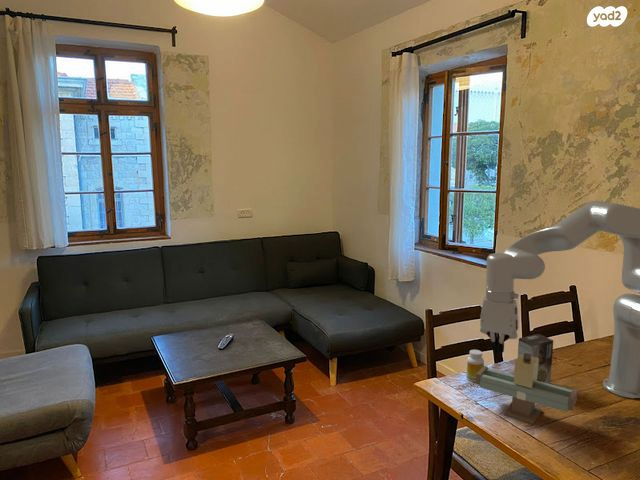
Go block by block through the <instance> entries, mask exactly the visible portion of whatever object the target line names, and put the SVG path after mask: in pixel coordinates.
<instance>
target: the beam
mask: <svg viewBox="0 0 640 480" xmlns="http://www.w3.org/2000/svg"><path fill="white" fill-rule="evenodd" d="M475 384H476V385H479V388H481V389H484V390H487V391H488V390H489V391H491V392H494V393H498V394H502V395H506V396H508V397H512V398H511V399H512V401H511V402H510V403H509V404H508V405H509V406H508V407H507V408H506V410H505V411H504V416H506V417H509V418H512V419H515V420H519V421H521V422H525V423H528V424H531V425H535V422H536V420H537V419H538V417H539V415H540V413H541V412H542V407H541V406H544V407H547V408H551V409H555V410H558V411H560V412H561V411H562V412H566V413H568V411H571V412H572V411H574V408H575V405H576V403H577V401H578V392H579V389H577V388H572V389H570V388H566V387H562V386H558V385H554V384H551V383H550V384H547V383H543V382H540V381H536V383H535V384H534V386H533V388H528V387H525V386H521V385H517V384H514V374H512V373H508V372H504V371H500V370H496V369H492V368H489V367H488V366H486V365H484V366H483V367H482V368H481V369H480V371H479V372H478V373H477V374H476V382H475ZM536 404H537V405H540V406H537V405H536Z"/></svg>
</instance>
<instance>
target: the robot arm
mask: <svg viewBox="0 0 640 480" xmlns="http://www.w3.org/2000/svg"><path fill="white" fill-rule="evenodd" d="M599 232H604V233H609V234H613V235H617V236H619V238H620V240H621V242H622V245H623V246H622V247H623V255H622V257H623V258H622V266H621V267H622V269H621V283H622V286H623V287H624V288H626V289H628V290H629V291H631V292H635V293H637V294H635V293H624V294H621V295H619V296H617V298H616V300H615V301H614V303H613V307H612V314H613V323H614V330H613V331H614V333H613V343H612V351H611V361H610V368H609V377H607V378H604V379H603V381H602V382H603V383H602V385H603V387H604V389H605V390H607V391H609V392H610V393H612V394H614V395H617V396H620V397H622V398H626V399H627V398H628V399H634V398H640V207H635V206H631V205H630V206H629V205H625V204H620V203H615V202H607V201H602V200H600V201H599V200H592V201H590V202H587V203H585V204H584V205H582V206H581V207H579V208H577V209H576V210H575V211H574V212H572V213H571V214H569V215H568V216H566V217H564V218H563V219H562V220H560V221H559V222H557V223H556V224H554V225H553V226H549V227H546V228H543V229H540V230H537V231H534V232H531V233H529V234H527V235H524V236H523V237H521V238H519V239H518V240H516V241H515V242H513V243H512V244H510V245H509V246H508V247H506V248H505V250H504V251H503V252H495V253H491V254H489V255H488V256H487V257H486V277H485V278H486V283H485V290H486V291H485V296H484V298H483V301H482V306H481V310H480V311H481V312H480V320H479V321H480V322H479V324H480V325H479V326H480V329H479V332H480V333H481V334H485V335H486V336H487V337H488V338H489V339H490V341H491V346H492V347H491V350H492V351H493V356H498V357H499V356H501V355H502V354H503V353H504V351H505V342H506V341H508V340H516V339H517V338H518V330H519V311H518V304H517V300H516V299H519V297H520V296H519V294H518V293H516V292H515V290H514V289H515V288H514V286H515V283H514V282H515V279H516V280H534V279H538V278H539V277H540V276H542V275H543V273H544V272H545V270H546V265H545V262H544V259H542V258H541V257H540V256H539V255H541V254H545V253H550V252H564V251H570V250H573V249H575V248H576V247H578V246H579V245H581V244H582V243H584V242H585V241H586V240H588V239H589V238H590V237H592V236H594V235H595V234H597V233H599ZM638 294H639V295H638ZM498 334H499V336H498ZM498 337H499V338H498Z"/></svg>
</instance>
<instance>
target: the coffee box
mask: <svg viewBox="0 0 640 480" xmlns="http://www.w3.org/2000/svg"><path fill="white" fill-rule="evenodd" d="M517 346H518V347H517V358H518V357H519V356H520V354H524V353H530V354H531V356H532V357H536V358H539V362H538V375H537V381H540V382H543V383H547V384H551V378H552V377H551V376H552V365H553V353H554V351H553V349H554V339H551V338H549V337H547V336H545V335H542V334H539V333H536V334H533V335H528V336H523V337H519V338H518V345H517Z"/></svg>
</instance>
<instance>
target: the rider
mask: <svg viewBox="0 0 640 480" xmlns="http://www.w3.org/2000/svg"><path fill="white" fill-rule="evenodd" d="M514 362H515V363H514V374H513V375H514V384H517V385H521V386H525V387H528V388H533V386H534V384H535V383H536V381H537V375H538V362H539V358H536V357H532V356H531V354H530V353H524V354H520V356H519V357H518V356H517V358H516V360H515V361H514Z"/></svg>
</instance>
